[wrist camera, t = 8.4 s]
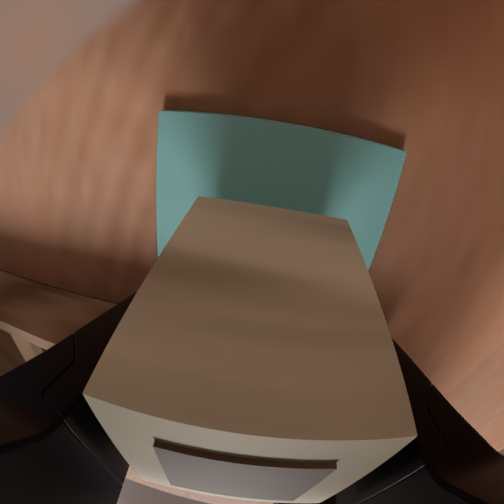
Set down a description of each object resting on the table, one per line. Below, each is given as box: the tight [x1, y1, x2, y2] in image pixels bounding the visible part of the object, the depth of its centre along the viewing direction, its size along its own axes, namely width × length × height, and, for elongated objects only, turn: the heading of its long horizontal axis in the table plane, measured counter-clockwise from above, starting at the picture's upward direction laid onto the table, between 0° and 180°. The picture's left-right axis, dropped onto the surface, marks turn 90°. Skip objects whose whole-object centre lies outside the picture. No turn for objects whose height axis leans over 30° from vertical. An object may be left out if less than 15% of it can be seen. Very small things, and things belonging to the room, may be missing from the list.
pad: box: [156, 110, 407, 270], centre depth 11 cm, size 8×8×1 cm
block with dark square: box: [82, 196, 417, 503], centre depth 6 cm, size 4×4×6 cm
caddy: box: [0, 271, 116, 376], centre depth 16 cm, size 24×14×3 cm, turn 83°
